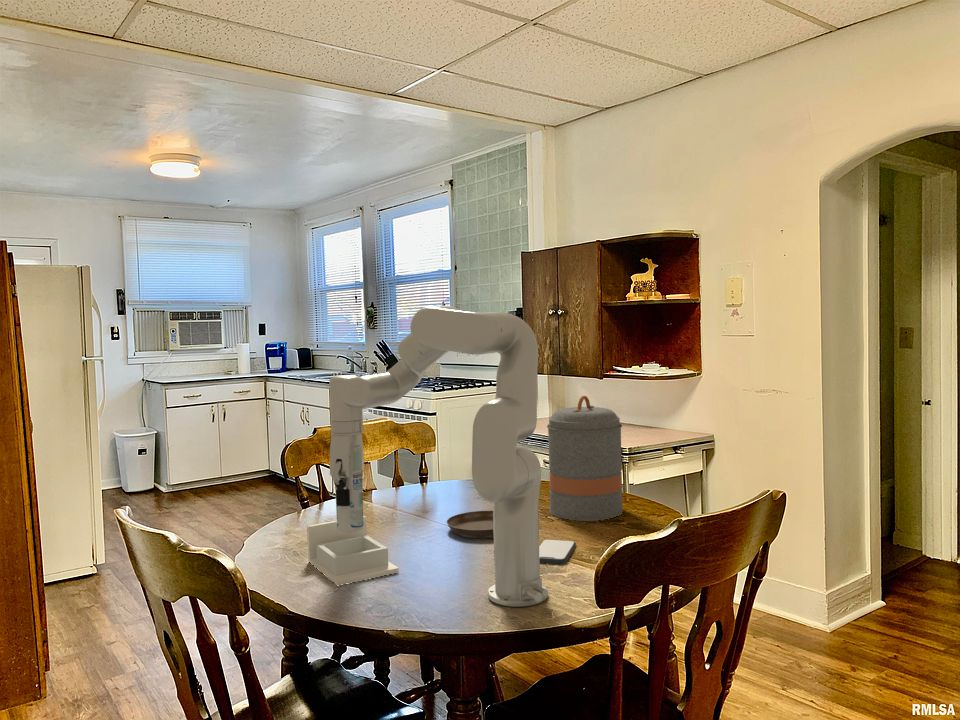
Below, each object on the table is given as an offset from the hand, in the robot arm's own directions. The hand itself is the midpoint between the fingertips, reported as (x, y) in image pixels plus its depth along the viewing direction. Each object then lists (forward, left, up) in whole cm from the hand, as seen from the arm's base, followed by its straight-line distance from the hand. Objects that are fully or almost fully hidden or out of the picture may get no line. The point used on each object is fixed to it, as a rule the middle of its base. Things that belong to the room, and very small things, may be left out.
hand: (349, 501), depth 174 cm
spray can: (0, 0, -7) cm, 7 cm away
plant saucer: (+8, -42, -17) cm, 46 cm away
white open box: (0, 0, -16) cm, 16 cm away
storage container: (+6, -77, -16) cm, 79 cm away
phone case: (-20, -45, -17) cm, 52 cm away
